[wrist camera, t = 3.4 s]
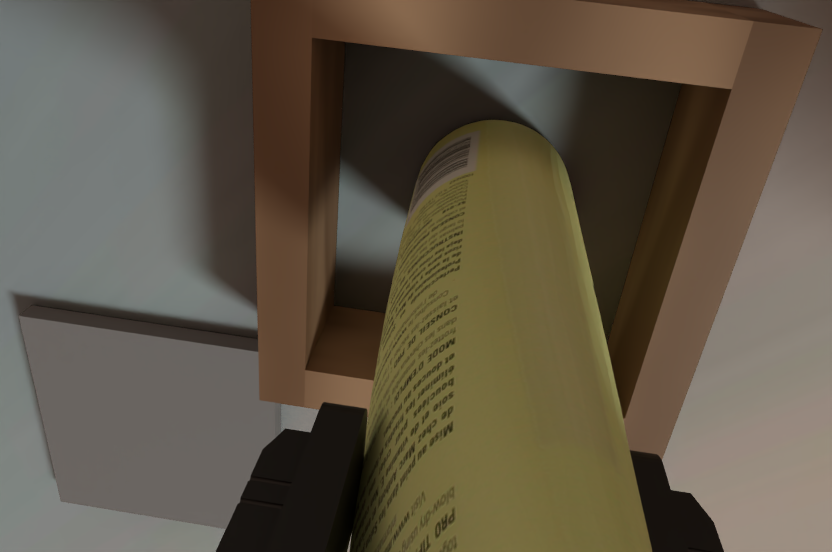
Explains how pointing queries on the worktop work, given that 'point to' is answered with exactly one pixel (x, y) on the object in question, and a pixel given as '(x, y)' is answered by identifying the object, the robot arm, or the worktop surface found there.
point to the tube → (495, 368)
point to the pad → (148, 413)
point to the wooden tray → (544, 46)
